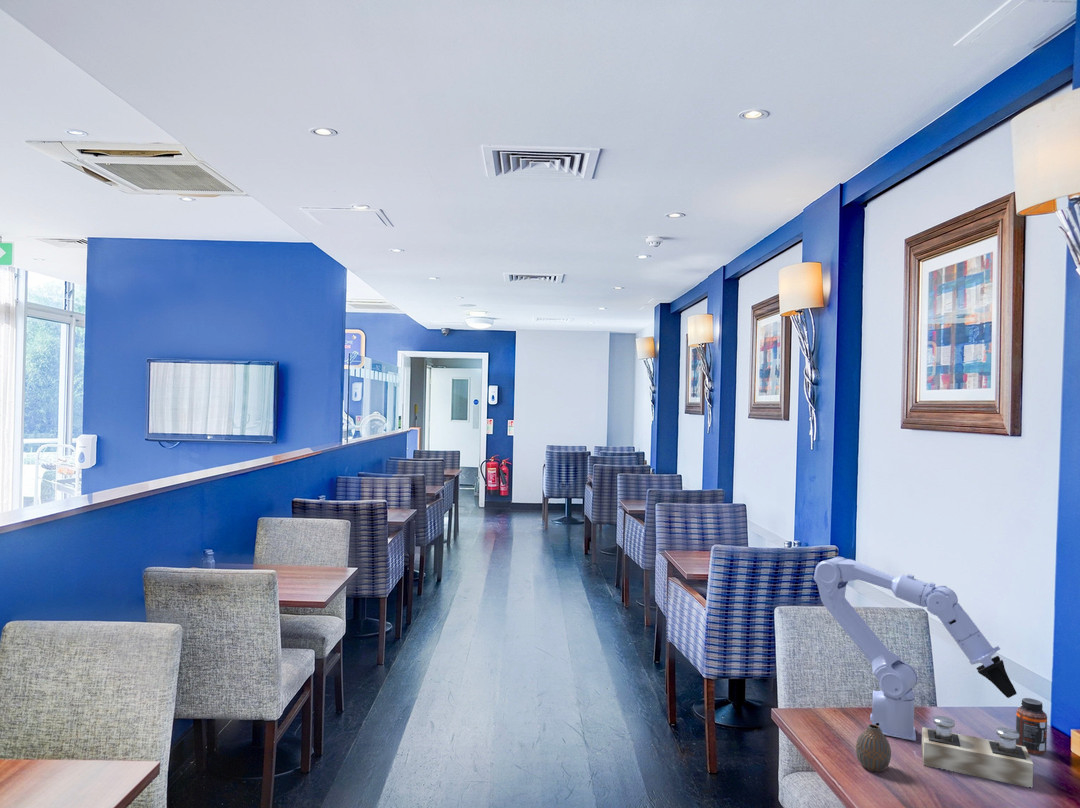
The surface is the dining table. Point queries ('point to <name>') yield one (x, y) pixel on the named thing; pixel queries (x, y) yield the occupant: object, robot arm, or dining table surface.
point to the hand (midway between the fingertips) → (1010, 693)
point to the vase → (873, 749)
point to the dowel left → (943, 727)
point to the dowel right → (1007, 739)
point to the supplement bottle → (1032, 726)
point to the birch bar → (977, 758)
